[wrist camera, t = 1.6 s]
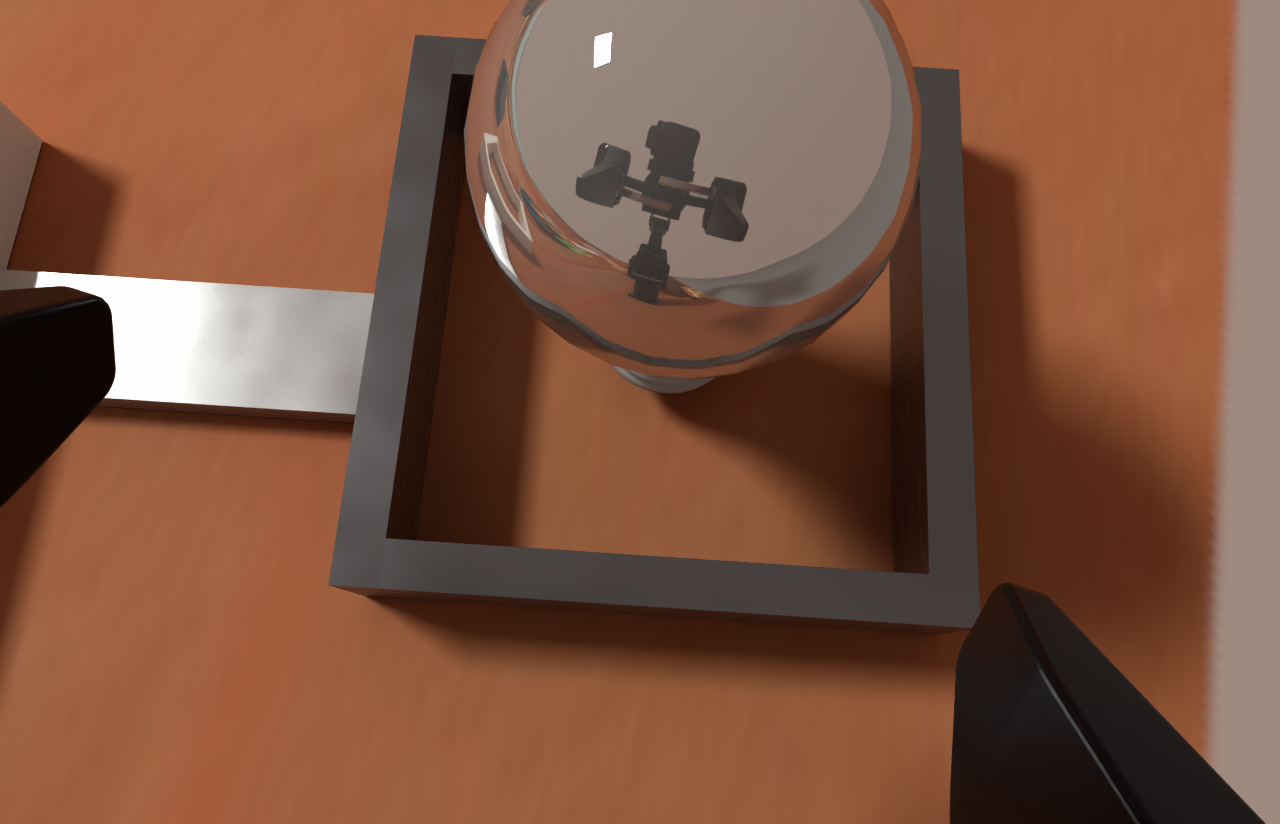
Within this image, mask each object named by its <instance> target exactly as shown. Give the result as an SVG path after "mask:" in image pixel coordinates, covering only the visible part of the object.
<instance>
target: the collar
mask: <svg viewBox="0 0 1280 824" xmlns="http://www.w3.org/2000/svg"><path fill="white" fill-rule="evenodd" d="M485 43H486V39H470V38H454V37H439V36H423V35H415V40H414V46H413V52H412V59H411V65H410V71H409V78H408V84H407V90H406V97H405V103H404V109H403V116H402V122H401V129H400V135H399V141H398V148H397V154H396V160H395V167H394V173H393V179H392V186H391V192H390V198H389V205H388V211H387V217H386V224H385V230H384V236H383V243H382V249H381V255H380V262H379V268H378V274H377V281H376V287H375V294H374V300H373V306H372V313H371V319H370V325H369V332H368V338H367V344H366V351H365V357H364V363H363V370H362V376H361V382H360V389H359V395H358V401H357V408H356V414H355V420H354V427H353V433H352V439H351V446H350V452H349V458H348V465H347V471H346V478H345V484H344V490H343V497H342V503H341V509H340V516H339V522H338V528H337V535H336V541H335V547H334V554H333V560H332V566H331V573H330V579H329V585H330V586H333V587H336V588H340V589H343V590H346V591H349V592H353V593H356V594H359V595H363V596H375V597H390V598H405V599H420V600H435V601H451V602H466V603H481V604H496V605H511V606H526V607H541V608H556V609H571V610H586V611H601V612H616V613H631V614H646V615H661V616H676V617H691V618H706V619H721V620H736V621H751V622H766V623H781V624H796V625H811V626H826V627H841V628H856V629H871V630H886V631H902V632H917V633H932V634H943V633H951V632H958V631H966V630H971V629H972V627H973V625H974V623H975V621H976V620H977V618H978V616H979V614H980V595H979V570H978V544H977V519H976V493H975V468H974V443H973V417H972V392H971V366H970V341H969V316H968V290H967V265H966V239H965V214H964V189H963V163H962V138H961V112H960V87H959V70H954V69H939V68H923V67H913V70H914V74H915V79H916V83H917V88H918V92H919V96H920V101H921V167H920V175H919V179H918V183H917V188H916V192H915V196H914V201H913V205H912V209H911V212H910V214H909V217H908V219H907V222H906V224H905V227H904V230H903V232H902V234H901V236H900V238H899V241H898V243H897V245H896V247H895V249H894V251H893V253H892V255H891V257H890V316H891V389H892V462H893V535H894V572H885V571H869V570H854V569H839V568H824V567H809V566H794V565H779V564H764V563H749V562H734V561H719V560H703V559H688V558H673V557H658V556H643V555H628V554H613V553H598V552H583V551H568V550H553V549H537V548H522V547H507V546H492V545H477V544H462V543H447V542H432V541H417V540H415V539H416V532H417V524H418V517H419V509H420V502H421V494H422V487H423V479H424V472H425V464H426V457H427V449H428V442H429V434H430V427H431V419H432V412H433V404H434V397H435V389H436V382H437V374H438V367H439V359H440V352H441V344H442V337H443V329H444V321H445V314H446V306H447V299H448V291H449V284H450V276H451V269H452V261H453V254H454V246H455V239H456V231H457V224H458V216H459V209H460V201H461V194H462V186H463V179H464V171H465V164H466V159H465V143H464V127H465V121H466V115H467V109H468V103H469V97H470V91H471V87H472V82H473V77H474V73H475V68H476V65H477V62H478V60H479V58H480V55H481V53H482V50H483V48H484V45H485Z"/></svg>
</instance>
